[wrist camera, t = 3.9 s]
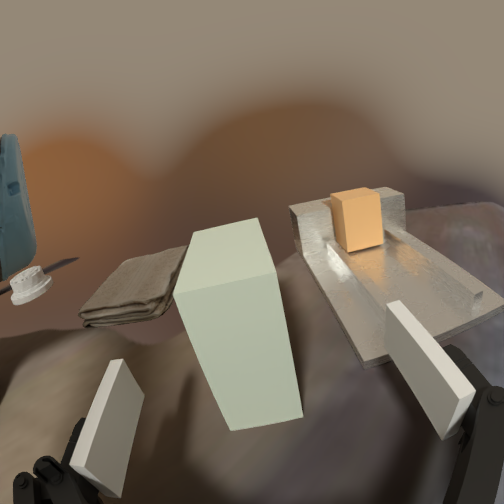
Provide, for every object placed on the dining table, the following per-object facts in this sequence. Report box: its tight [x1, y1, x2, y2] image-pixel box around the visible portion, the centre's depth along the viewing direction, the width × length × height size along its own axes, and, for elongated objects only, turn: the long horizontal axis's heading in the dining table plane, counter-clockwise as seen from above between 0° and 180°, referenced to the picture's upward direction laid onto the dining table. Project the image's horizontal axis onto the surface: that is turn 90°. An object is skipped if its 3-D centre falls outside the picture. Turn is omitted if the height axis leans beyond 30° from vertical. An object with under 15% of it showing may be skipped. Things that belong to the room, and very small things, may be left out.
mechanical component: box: [10, 266, 53, 305], centre depth 47 cm, size 10×4×10 cm
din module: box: [173, 218, 303, 431], centre depth 19 cm, size 4×9×10 cm, turn 4°
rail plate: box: [289, 187, 504, 370], centre depth 29 cm, size 14×24×6 cm, turn 4°
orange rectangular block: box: [330, 187, 383, 252], centre depth 34 cm, size 5×4×6 cm
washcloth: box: [78, 245, 189, 328], centre depth 39 cm, size 12×18×3 cm, turn 0°
